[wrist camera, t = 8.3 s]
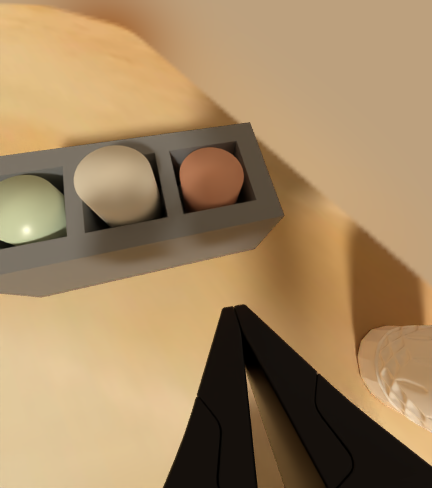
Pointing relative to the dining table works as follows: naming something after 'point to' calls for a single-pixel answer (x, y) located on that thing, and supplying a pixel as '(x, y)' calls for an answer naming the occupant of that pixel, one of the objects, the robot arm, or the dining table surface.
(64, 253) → the tray
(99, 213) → the cream rounded egg shape
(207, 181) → the terracotta button
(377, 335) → the white cup
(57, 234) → the sage button
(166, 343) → the dining table surface
